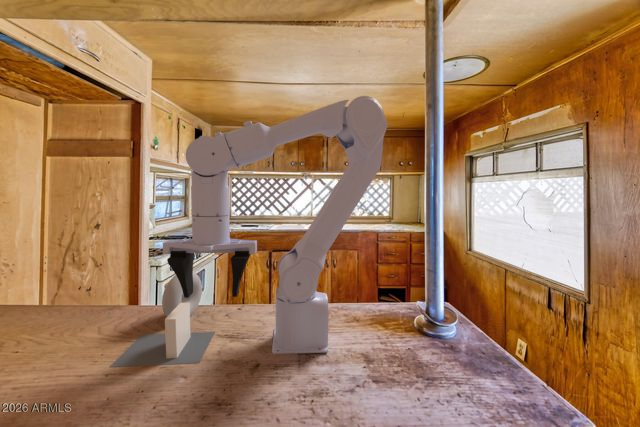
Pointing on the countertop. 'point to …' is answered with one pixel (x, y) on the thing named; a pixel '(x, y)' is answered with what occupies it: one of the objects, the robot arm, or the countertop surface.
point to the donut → (175, 292)
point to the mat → (163, 351)
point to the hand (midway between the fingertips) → (212, 295)
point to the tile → (177, 330)
